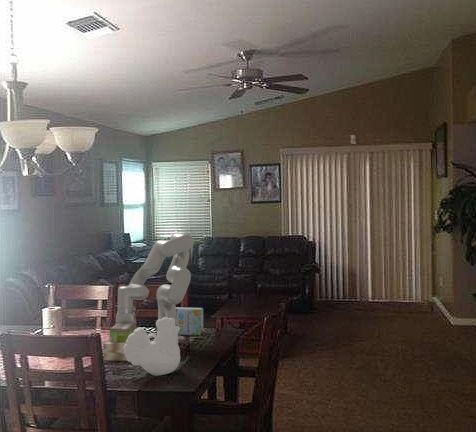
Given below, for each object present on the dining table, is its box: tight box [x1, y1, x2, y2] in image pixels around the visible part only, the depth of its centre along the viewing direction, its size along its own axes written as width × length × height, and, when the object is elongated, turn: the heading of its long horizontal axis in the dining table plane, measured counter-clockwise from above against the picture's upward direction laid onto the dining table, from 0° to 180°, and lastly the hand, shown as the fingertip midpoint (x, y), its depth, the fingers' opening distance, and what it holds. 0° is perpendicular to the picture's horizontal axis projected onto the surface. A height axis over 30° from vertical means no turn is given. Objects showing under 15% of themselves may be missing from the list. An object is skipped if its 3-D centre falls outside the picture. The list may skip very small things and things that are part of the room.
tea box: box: [109, 322, 137, 342], centre depth 289 cm, size 15×10×15 cm, turn 176°
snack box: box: [176, 306, 204, 336], centre depth 334 cm, size 21×6×15 cm, turn 77°
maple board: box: [102, 341, 127, 361], centre depth 280 cm, size 12×3×8 cm, turn 87°
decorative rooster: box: [123, 317, 181, 377], centre depth 256 cm, size 25×16×25 cm, turn 99°
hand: (125, 345), depth 298 cm, fingers closed
